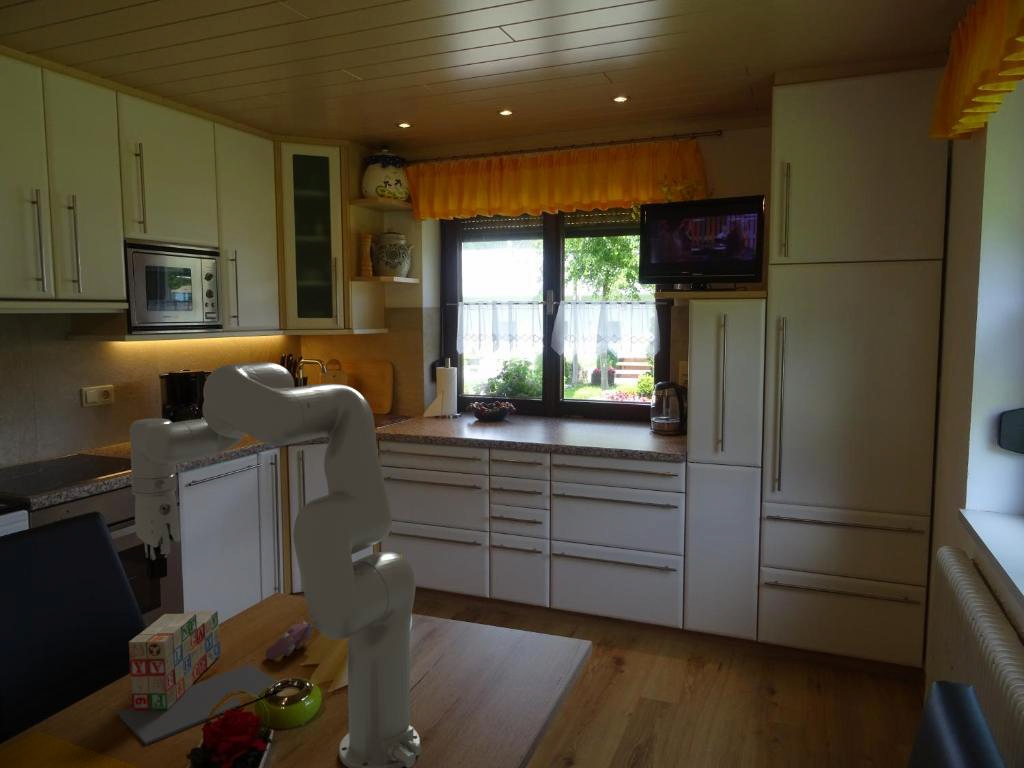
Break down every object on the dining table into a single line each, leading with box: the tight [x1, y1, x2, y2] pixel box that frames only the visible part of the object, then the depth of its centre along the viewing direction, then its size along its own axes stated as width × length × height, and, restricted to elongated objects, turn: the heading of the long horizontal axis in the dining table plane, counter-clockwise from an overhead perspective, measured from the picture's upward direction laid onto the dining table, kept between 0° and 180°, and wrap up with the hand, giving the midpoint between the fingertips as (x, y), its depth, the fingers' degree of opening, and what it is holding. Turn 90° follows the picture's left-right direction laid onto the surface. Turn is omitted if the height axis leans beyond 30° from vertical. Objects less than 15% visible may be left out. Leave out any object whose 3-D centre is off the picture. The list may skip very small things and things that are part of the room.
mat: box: [117, 663, 278, 746], centre depth 129 cm, size 12×24×1 cm, turn 137°
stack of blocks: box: [128, 610, 221, 710], centre depth 135 cm, size 21×6×12 cm, turn 178°
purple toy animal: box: [265, 620, 315, 660], centre depth 148 cm, size 10×5×7 cm, turn 160°
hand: (157, 577), depth 140 cm, fingers closed
